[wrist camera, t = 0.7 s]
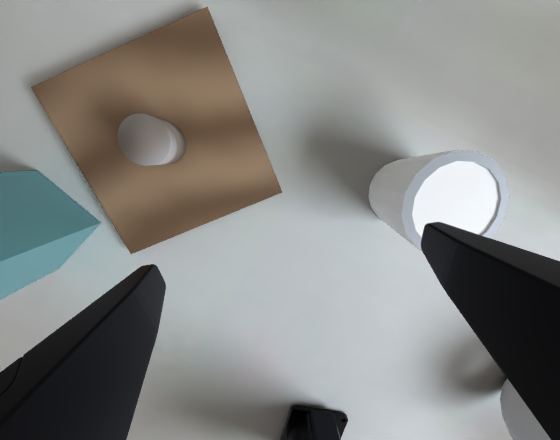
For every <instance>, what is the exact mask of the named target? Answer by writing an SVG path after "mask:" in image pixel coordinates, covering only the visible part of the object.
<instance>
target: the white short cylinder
mask: <svg viewBox="0 0 560 440" xmlns="http://www.w3.org/2000/svg"><path fill="white" fill-rule="evenodd" d="M368 198H369V202H370V205H371V209H372V210H373V211H374V212H375V213H376V215H377V216H378V217H379V218H380V219H382V220H383V221H384V222H385V223H387V224H388V225H389V226H390V227H391V228H393V229H394V230H395V231H396V232H398V233H399V234H400V235H401V236H402V237H404V238H405V239H406V240H407V241H409V242H410V243H411V244H412V245H413V246H415V247H416V248H417V249H419V250H421V251H422V249H421V239H422V234H423V230H424V226H425V225H426V224H427V223H433V222H442V223H445V224H448V225H451V226H454V227H457V228H460V229H463V230H466V231H469V232H472V233H475V234H478V235H481V236H484V237H487V238H490V237H492V235H493V234H494V232H495V231H496V229H497V228H498V226H499V225H500V223H501V222H502V220H503V219H504V216H505V212H506V208H507V204H508V200H509V192H508V185H507V178H506V176H505V174H504V173H503V171H502V170H501V168H500V167H499V165H498V164H497V162H496V161H495V160H493V159H491V158H490V157H488V156H486V155H484V154H482V153H480V152H479V151H465V150H454V151H448V152H442V153H436V154H430V155H424V156H418V157H412V158H406V159H400V160H396V161H394V162H391V163H388V164H386V165H385V166H383V167H382V168H381V169H380V170H379V171H378V172H377V173H376V174H375V176H374V178H373V180H372V181H371V183H370V186H369V195H368Z"/></svg>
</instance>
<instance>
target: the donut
mask: <svg viewBox="0 0 560 440" xmlns="http://www.w3.org/2000/svg"><path fill="white" fill-rule="evenodd" d="M500 402H501V410H502V416H503V418H504V421H505V423H506V426H507V428H508V431H509V433H510V435H511V437H512V438H513V439H514V440H551V439H550V438H549V436H548V435H547V434H546V432H545V431H544V429H543V428H542V427H541V425H540V424H539V422H538V421H537V419H536V418H535V417H534V415H533V414H532V412H531V411H530V410H529V408H528V407H527V405H526V404H525V403H524V401H523V400H522V398H521V397H520V396H519V394H518V393H517V391H516V390H515V389H514V387H513V386H512V384H511V383H510V382H509V380H508V379H506V381H505V382H504V384H503V386H502V392H501V397H500Z"/></svg>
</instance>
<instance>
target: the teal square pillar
mask: <svg viewBox="0 0 560 440" xmlns="http://www.w3.org/2000/svg"><path fill="white" fill-rule="evenodd" d="M100 223H101V222H99V221H98V220H97V219H96V218H95V217H93V216H92V215H91V214H90V213H89V212H87V211H86V210H85V209H84V208H83V207H81V206H80V205H79V204H78V203H77V202H75V201H74V200H73V199H72V198H70V197H69V196H68V195H67V194H66V193H64V192H63V191H62V190H61V189H60V188H58V187H57V186H56V185H55V184H54V183H52V182H51V181H50V180H49V179H47V178H46V177H45V176H44V175H43V174H41V173H40V172H39V171H38V170H32V171H13V172H0V300H1V299H3V298H4V297H6V296H8V295H10V294H12V293H14V292H16V291H18V290H20V289H21V288H23V287H25V286H27V285H29V284H31V283H33V282H35V281H37V280H39V279H40V278H42V277H44V276H46V275H48V274H50V273H52V272H54V271H56V270H57V269H59V268H60V266H61V265H62V264H63V263H64V262H65V261H66V260H67V259H68V258H69V257H70V256H71V255H72V253H73V252H74V251H75V250H76V249H77V248H78V247H79V246H80V245H81V244H82V243H83V242H84V240H85V239H86V238H87V237H88V236H89V235H90V234H91V233H92V232H93V231H94V230H95V229H96V227H97V226H98V225H99V224H100Z"/></svg>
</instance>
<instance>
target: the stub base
mask: <svg viewBox="0 0 560 440" xmlns="http://www.w3.org/2000/svg"><path fill="white" fill-rule="evenodd" d="M31 88H32V90H33V91H34V93H35V95H36V96H37V98H38V100H39V101H40V103H41V105H42V106H43V108H44V110H45V111H46V113H47V115H48V116H49V118H50V120H51V121H52V123H53V125H54V126H55V128H56V130H57V131H58V133H59V135H60V136H61V138H62V140H63V141H64V143H65V145H66V146H67V148H68V150H69V151H70V153H71V155H72V156H73V158H74V160H75V161H76V163H77V165H78V166H79V168H80V170H81V171H82V173H83V175H84V176H85V178H86V180H87V181H88V183H89V185H90V186H91V188H92V190H93V191H94V193H95V195H96V196H97V198H98V200H99V201H100V203H101V205H102V206H103V208H104V210H105V211H106V213H107V215H108V216H109V218H110V220H111V221H112V223H113V225H114V226H115V228H116V230H117V231H118V233H119V235H120V237H121V238H122V240H123V242H124V243H125V245H126V247H127V248H128V250H129V252H130V253H131V254H132V253H135V252H137V251H140V250H142V249H145V248H147V247H150V246H152V245H154V244H157V243H159V242H162V241H164V240H167V239H169V238H172V237H174V236H176V235H179V234H181V233H184V232H186V231H189V230H191V229H194V228H196V227H198V226H201V225H203V224H206V223H208V222H211V221H213V220H216V219H218V218H220V217H223V216H225V215H228V214H230V213H233V212H235V211H238V210H240V209H242V208H245V207H247V206H250V205H252V204H255V203H257V202H260V201H262V200H265V199H267V198H269V197H272V196H274V195H277V194H279V193H282V191H281V188H280V186H279V183H278V181H277V178H276V176H275V173H274V171H273V168H272V166H271V163H270V161H269V158H268V156H267V153H266V151H265V148H264V146H263V144H262V141H261V139H260V136H259V134H258V131H257V129H256V126H255V124H254V121H253V119H252V116H251V114H250V111H249V109H248V106H247V104H246V101H245V99H244V96H243V94H242V91H241V89H240V86H239V84H238V82H237V79H236V77H235V74H234V72H233V69H232V67H231V64H230V62H229V59H228V57H227V54H226V52H225V49H224V47H223V44H222V42H221V39H220V37H219V34H218V32H217V29H216V27H215V25H214V22H213V20H212V17H211V15H210V12H209V10H208V7H206V8H203V9H201V10H199V11H197V12H195V13H192V14H190V15H188V16H186V17H184V18H182V19H179V20H177V21H175V22H173V23H171V24H168V25H166V26H164V27H162V28H160V29H157V30H155V31H153V32H151V33H149V34H146V35H144V36H142V37H140V38H138V39H136V40H133V41H131V42H129V43H127V44H125V45H122V46H120V47H118V48H116V49H114V50H111V51H109V52H107V53H105V54H103V55H101V56H98V57H96V58H94V59H92V60H90V61H87V62H85V63H83V64H81V65H79V66H76V67H74V68H72V69H70V70H68V71H65V72H63V73H61V74H59V75H57V76H55V77H52V78H50V79H48V80H46V81H44V82H41V83H39V84H37V85H35V86H33V87H31Z"/></svg>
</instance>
